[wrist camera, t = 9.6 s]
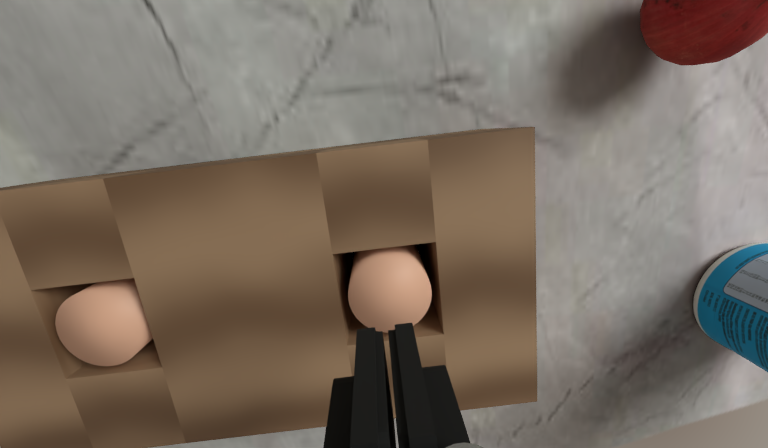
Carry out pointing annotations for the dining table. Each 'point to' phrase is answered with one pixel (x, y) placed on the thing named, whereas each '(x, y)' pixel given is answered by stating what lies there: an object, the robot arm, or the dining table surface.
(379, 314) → the peg
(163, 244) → the peg block
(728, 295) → the beverage bottle
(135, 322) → the peg
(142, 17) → the dining table surface
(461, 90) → the dining table surface
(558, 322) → the dining table surface
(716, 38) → the onion
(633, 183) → the dining table surface
